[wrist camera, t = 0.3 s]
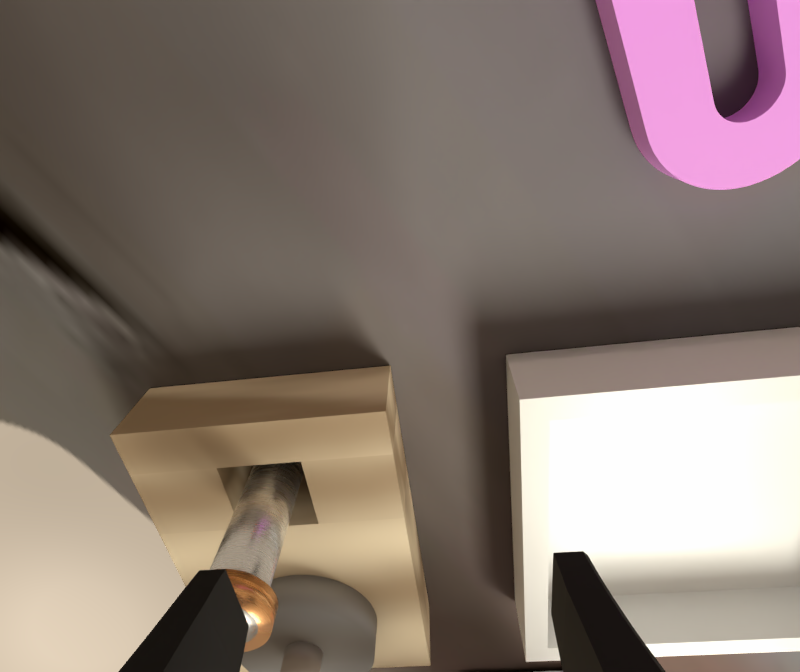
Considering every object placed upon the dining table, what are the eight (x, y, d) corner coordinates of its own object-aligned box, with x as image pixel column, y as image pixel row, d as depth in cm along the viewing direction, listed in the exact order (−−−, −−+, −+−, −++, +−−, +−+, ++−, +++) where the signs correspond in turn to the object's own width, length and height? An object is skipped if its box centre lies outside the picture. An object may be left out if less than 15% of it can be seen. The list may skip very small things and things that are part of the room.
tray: (821, 586, 25) (869, 648, 22) (514, 602, 26) (525, 661, 23) (928, 314, 18) (1017, 356, 15) (505, 354, 19) (519, 399, 17)
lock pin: (325, 467, 22) (281, 650, 15) (264, 471, 22) (193, 654, 15) (312, 416, 21) (257, 591, 14) (248, 422, 21) (161, 596, 14)
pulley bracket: (429, 606, 26) (431, 726, 22) (247, 615, 27) (210, 732, 23) (390, 365, 20) (380, 462, 15) (149, 388, 21) (65, 486, 16)
